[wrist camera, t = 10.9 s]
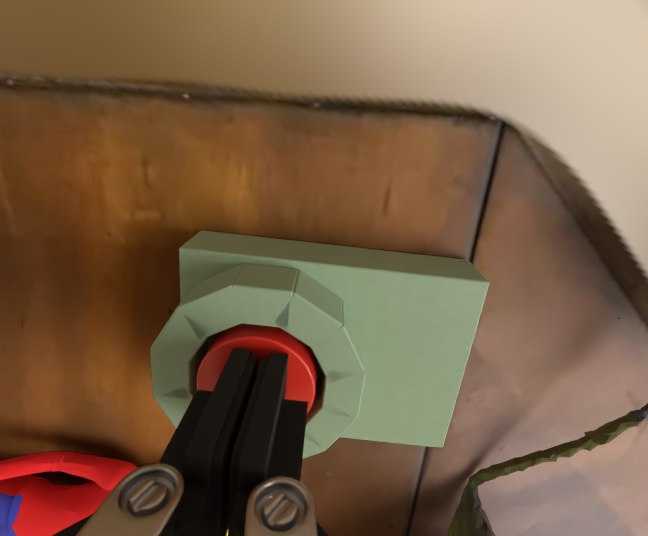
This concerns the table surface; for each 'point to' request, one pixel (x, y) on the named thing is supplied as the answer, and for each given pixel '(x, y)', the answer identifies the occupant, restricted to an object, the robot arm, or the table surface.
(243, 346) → the button
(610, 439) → the artificial flower
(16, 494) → the character figure
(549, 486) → the table surface
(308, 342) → the button box
